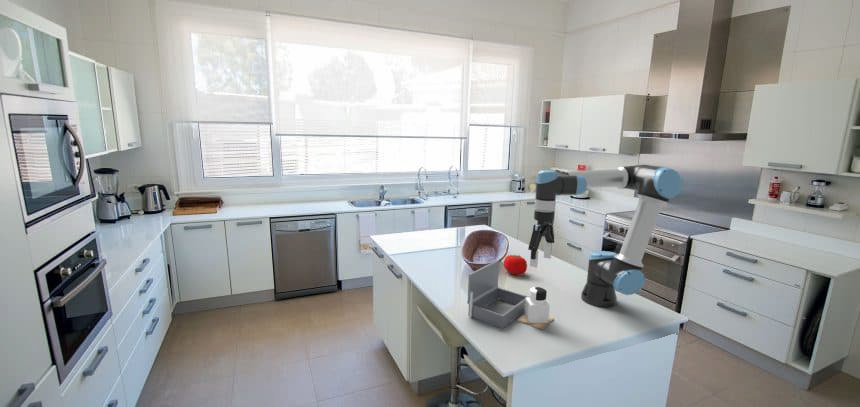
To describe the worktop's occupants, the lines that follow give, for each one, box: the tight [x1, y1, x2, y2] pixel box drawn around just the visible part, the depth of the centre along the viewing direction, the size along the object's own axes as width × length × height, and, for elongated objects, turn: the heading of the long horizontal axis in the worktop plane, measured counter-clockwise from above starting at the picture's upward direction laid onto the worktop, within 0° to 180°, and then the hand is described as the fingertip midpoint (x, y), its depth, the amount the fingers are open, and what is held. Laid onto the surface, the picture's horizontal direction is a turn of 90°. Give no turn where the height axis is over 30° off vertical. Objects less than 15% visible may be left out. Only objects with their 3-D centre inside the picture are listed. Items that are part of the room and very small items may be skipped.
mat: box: [517, 313, 555, 330], centre depth 160 cm, size 11×11×1 cm
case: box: [466, 259, 529, 329], centre depth 165 cm, size 17×25×18 cm
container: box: [523, 286, 550, 323], centre depth 159 cm, size 8×8×13 cm
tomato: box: [503, 254, 528, 276], centre depth 211 cm, size 11×13×10 cm
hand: (540, 262), depth 156 cm, fingers open, 13 cm apart
